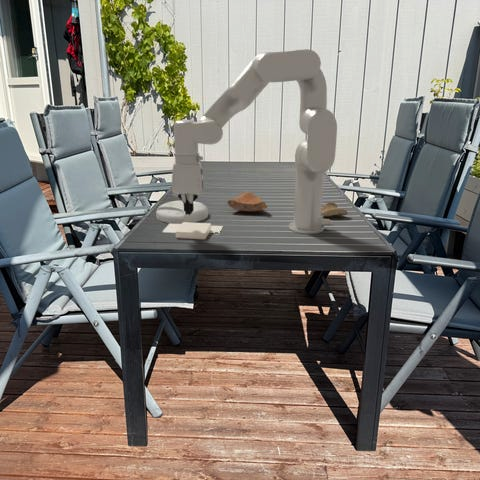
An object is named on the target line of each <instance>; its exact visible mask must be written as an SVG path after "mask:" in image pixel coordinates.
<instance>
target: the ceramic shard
mask: <svg viewBox="0 0 480 480" xmlns="http://www.w3.org/2000/svg"><path fill="white" fill-rule="evenodd" d="M227 205H228V206H229V207H230V208H232V209H233V210H236V211H237V210H238V211H243V212H244V211H245V212H258V211H263V210H265V209H268V206H267V204H266V203H265V201H263V200H262V199H261V198H260V197H258V196H257V195H255V194H254V193H251V192H250V191H249V190H246V191H244V192H243V193H242V194H241V195H239V196H238V197H235V198H233V199H229V200H228V201H227Z"/></svg>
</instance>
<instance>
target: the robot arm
mask: <svg viewBox="0 0 480 480" xmlns="http://www.w3.org/2000/svg"><path fill="white" fill-rule="evenodd" d="M321 66H322V63H321V58H320V56H319V54H318V53H317V52H316V51H315V50H312V49H309V48H305V49H294V50H287V51H268V52H262V53H261V52H260V53H258V54H256V55H255V56H254V57H253V58H252V60H251V61H250V62H249V63H248V64H247V65H246V66H245V68H244V69H242V71H241V72H240V74H239V75H238V76H236V77H237V78H235V80H234V81H233V82H232V83H231V84H230V86H229V87H228V88H227V89H225V91H224V92H223V93H222V94H221V95H220V96H219V97H218V98H217V100H216V101H214V102H213V103H212V105H211V106H210V107H209V108H208V109H207V111H205V113H204V114H203V116H202V117H201V118H200V119H199V120H198V121H195V120H192V119H178V120H176V121H175V122H174V123H173V137H174V138H173V140H174V141H173V142H174V161H175V162H174V163H173V165H172V173H171V174H172V175H171V176H172V177H171V191H172V193H171V196H172V197H175V198H178V199H179V200H180V201H181V200H182V202H183V203H184V211H185V214H186V215H187V214H189V215H190V214H191V213H192V212H193V210H194V207H193V202H194V201H196V200H197V199H200V198H204V196H205V192H204V190H205V180H204V172H203V166H202V163H201V162H200V161H203V159H204V157H203V156H201V155H200V153H199V144H201V145H215V144H218V143H219V142H221V140H222V138H223V135H224V134H223V133H224V132H223V127H225V125H226V124H227V123H228V122H229V121H230V120H231V119H232V118H233V117H234V116H235V115H238V113H240V112H242V111H244V110H245V109H247V108H248V107H249V106H251V105H252V103H253V102H254V101H255V100H256V99H257V97H259V96H260V94H261V92H262V91H264V90H265V88H266V87H267V86H268V85H269V83H283V82H286V83H287V82H294V81H296V82H297V84H298V86H299V92H300V95H299V96H300V97H299V98H300V100H299V101H300V104H299V105H300V106H299V118H298V119H299V122H298V123H299V124H298V125H299V128H300V130H301V132H303V134H305V135H306V136H307V138H306V139H304V140H302V141H301V142H300V143H299V144H298V145H297V147H296V149H295V153H294V164H295V165H294V166H295V187H294V206H293V207H294V208H293V221H291V222H290V223H289V224H288V228H289V230H290V231H291V232H294V233H296V234H304V235H305V234H306V235H310V234H311V235H314V234H320V233H322V232H324V231H325V226H328V227H334V224H335V222H334V220H330V218H323V217H322V216H323V215H322V214H321V210H322V207H323V206H322V203H323V190H324V189H323V188H324V174H325V173H327V172H328V171H330V169H331V168H332V167H333V165H334V163H335V159H336V153H337V152H336V149H337V138H338V137H337V135H338V124H337V119H336V117H335V114H334V113H333V112H332V111H331V110H329V109H327V103H328V102H327V100H328V99H327V98H328V95H327V93H328V91H327V90H328V86H327V80H326V77H325V75H324V73H323V71H322V68H321ZM188 195H189V199H188Z"/></svg>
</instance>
